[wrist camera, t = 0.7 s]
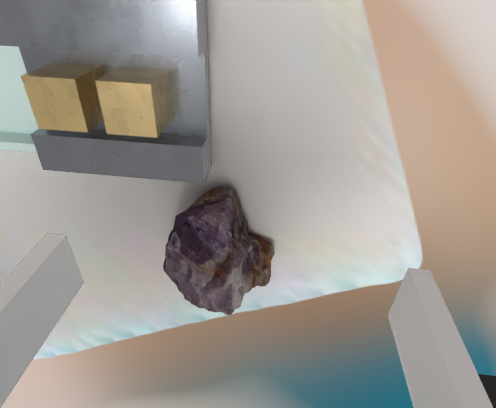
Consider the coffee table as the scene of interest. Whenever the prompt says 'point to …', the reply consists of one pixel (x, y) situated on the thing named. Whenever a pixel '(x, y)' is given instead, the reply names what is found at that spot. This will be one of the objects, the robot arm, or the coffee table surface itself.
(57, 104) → the brass block
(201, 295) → the rock
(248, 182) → the coffee table surface
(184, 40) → the rail
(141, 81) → the brass block
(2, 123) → the tray
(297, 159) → the coffee table surface
